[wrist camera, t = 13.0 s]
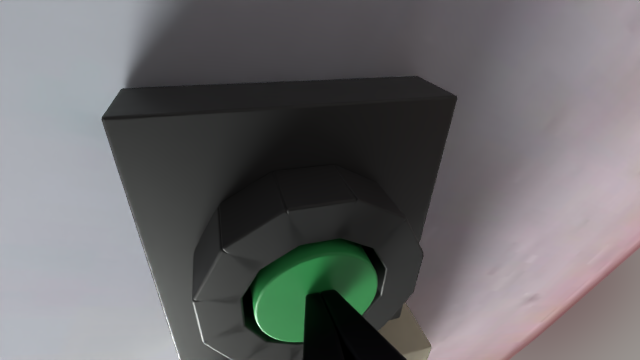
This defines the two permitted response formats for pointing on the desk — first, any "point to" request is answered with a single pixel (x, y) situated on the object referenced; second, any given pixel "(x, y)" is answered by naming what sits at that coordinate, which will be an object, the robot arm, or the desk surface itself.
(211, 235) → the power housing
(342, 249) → the power button
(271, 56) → the desk surface
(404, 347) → the panel
